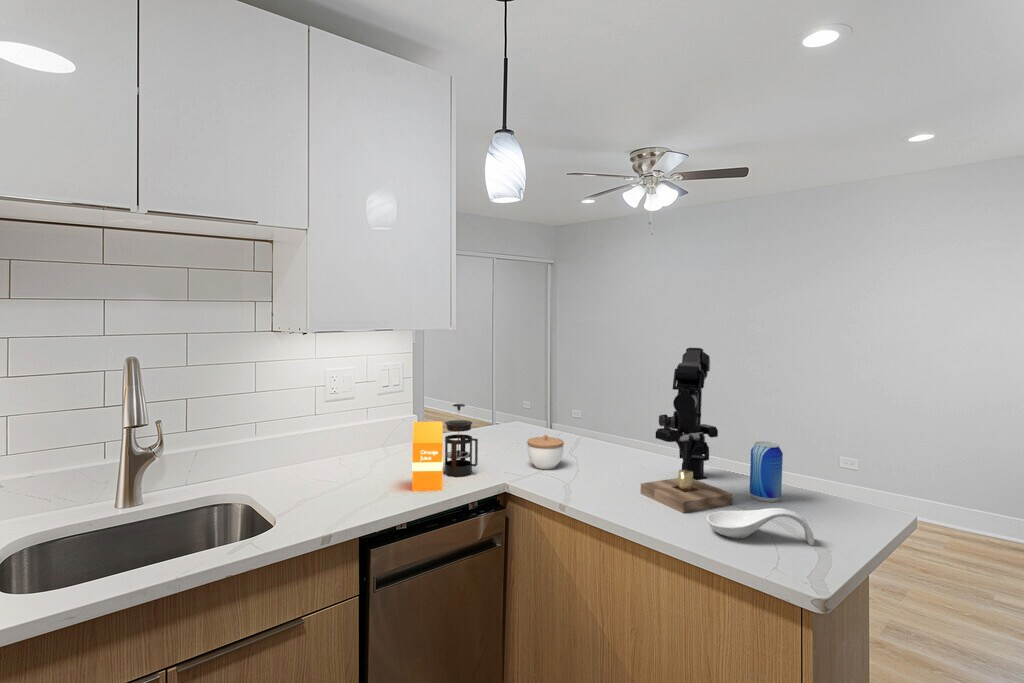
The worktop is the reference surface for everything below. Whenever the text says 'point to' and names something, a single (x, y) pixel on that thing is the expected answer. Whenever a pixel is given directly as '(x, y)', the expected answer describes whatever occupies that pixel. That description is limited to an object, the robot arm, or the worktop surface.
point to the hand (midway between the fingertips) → (686, 462)
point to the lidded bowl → (545, 451)
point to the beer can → (766, 471)
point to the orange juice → (427, 456)
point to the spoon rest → (752, 521)
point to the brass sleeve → (685, 480)
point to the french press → (460, 466)
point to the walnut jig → (686, 495)
